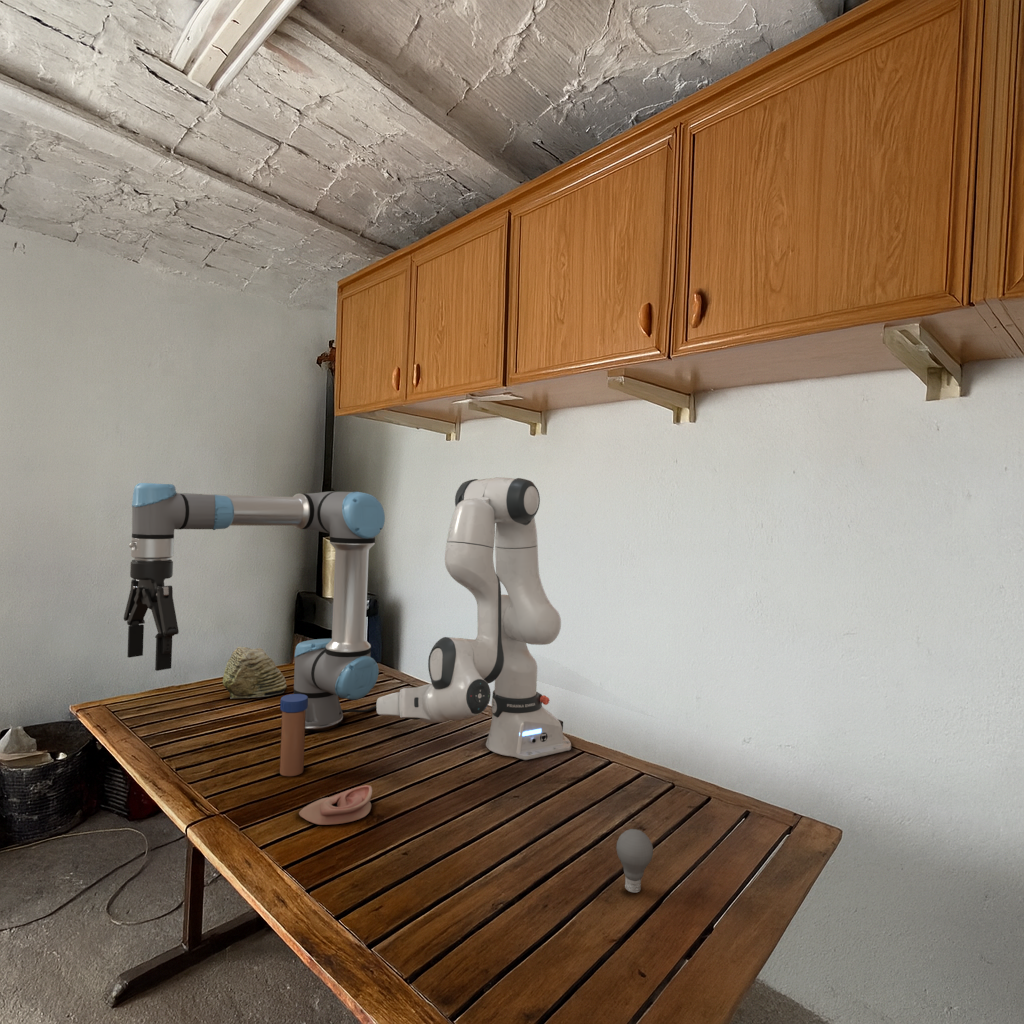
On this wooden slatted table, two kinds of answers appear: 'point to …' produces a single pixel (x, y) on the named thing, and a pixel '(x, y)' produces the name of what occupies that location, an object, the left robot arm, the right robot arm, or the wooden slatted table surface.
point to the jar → (292, 743)
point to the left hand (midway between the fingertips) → (148, 662)
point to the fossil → (252, 674)
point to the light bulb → (634, 857)
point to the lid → (294, 703)
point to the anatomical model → (339, 807)
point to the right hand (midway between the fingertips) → (399, 708)
